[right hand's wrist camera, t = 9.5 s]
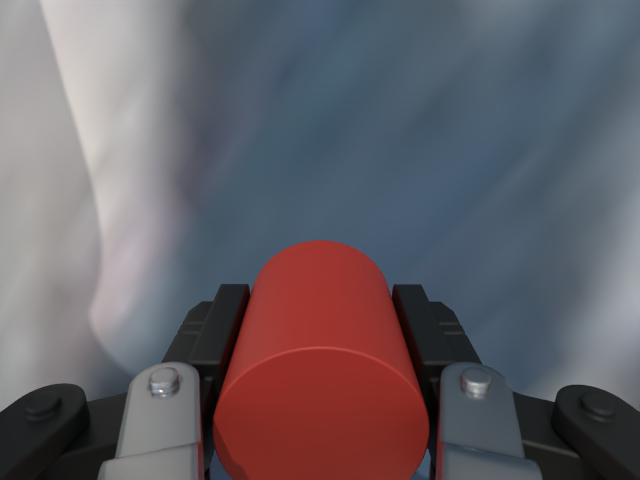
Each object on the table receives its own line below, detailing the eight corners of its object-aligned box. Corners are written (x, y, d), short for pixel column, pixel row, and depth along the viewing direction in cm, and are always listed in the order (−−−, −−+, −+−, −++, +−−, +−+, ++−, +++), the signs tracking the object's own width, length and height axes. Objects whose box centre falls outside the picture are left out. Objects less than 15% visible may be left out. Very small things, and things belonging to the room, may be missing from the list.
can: (344, 213, 12) (361, 307, 7) (414, 323, 13) (467, 465, 8) (223, 284, 12) (166, 411, 8) (299, 381, 14) (289, 540, 9)
